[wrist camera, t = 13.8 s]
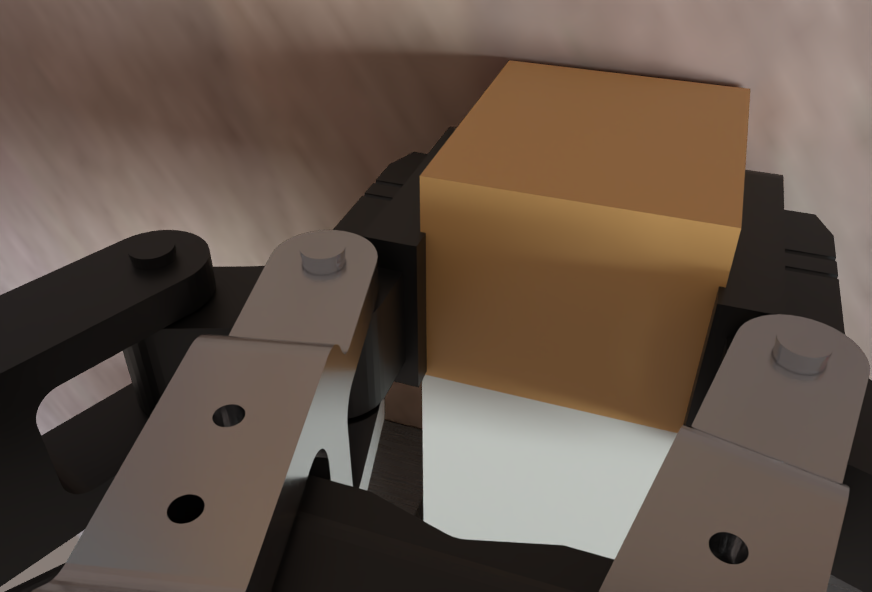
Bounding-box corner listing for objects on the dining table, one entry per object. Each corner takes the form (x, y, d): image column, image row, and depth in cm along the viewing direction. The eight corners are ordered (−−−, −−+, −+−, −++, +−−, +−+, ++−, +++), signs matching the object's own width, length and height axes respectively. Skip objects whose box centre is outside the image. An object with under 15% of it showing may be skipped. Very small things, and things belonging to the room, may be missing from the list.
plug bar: (750, 89, 11) (740, 228, 8) (605, 683, 21) (576, 851, 18) (508, 60, 12) (420, 176, 9) (475, 641, 22) (426, 794, 18)
